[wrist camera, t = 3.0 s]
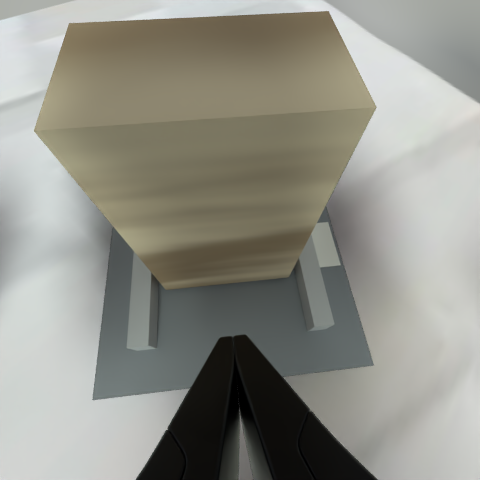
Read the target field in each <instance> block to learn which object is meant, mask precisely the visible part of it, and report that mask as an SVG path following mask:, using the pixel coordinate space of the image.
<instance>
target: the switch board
mask: <svg viewBox="0 0 480 480" xmlns="http://www.w3.org/2000/svg"><path fill="white" fill-rule="evenodd" d="M243 334H246V335H247V336H248V337H249V338H250V339H251V341H252V342H253V343H254V344H255V345H256V347H257V348H258V349H259V350H260V351H261V352H262V354H263V355H264V356H265V357H266V358H267V359H268V361H269V362H270V363H271V364H272V365H273V366H274V368H275V369H276V370H277V371H278V372H279V374H280V375H281V376H282V377H284V376H292V375H300V374H308V373H317V372H325V371H333V370H341V369H349V368H357V367H365V366H373V365H374V364H373V361H372V358H371V354H370V351H369V348H368V344H367V341H366V338H365V335H364V331H363V328H362V325H361V321H360V318H359V315H358V311H357V308H356V305H355V301H354V298H353V295H352V291H351V288H350V285H349V281H348V278H347V275H346V271H345V268H344V265H343V261H342V258H341V255H340V252H339V248H338V245H337V242H336V238H335V235H334V232H333V228H332V225H331V222H330V218H329V215H328V212H327V208H326V206H325V208H324V210H323V212H322V214H321V216H320V218H319V220H318V222H317V224H316V225H315V227H314V229H313V231H312V233H311V235H310V237H309V239H308V241H307V243H306V245H305V247H304V249H303V251H302V253H301V254H300V256H299V258H298V260H297V262H296V264H295V266H294V268H293V270H292V272H291V274H290V276H289V277H287V278H277V279H267V280H258V281H248V282H238V283H228V284H219V285H209V286H199V287H190V288H180V289H170V290H166V289H165V288H164V287H163V286H162V285H161V283H160V282H159V281H158V280H157V279H156V277H155V276H154V275H153V274H152V273H151V271H150V270H149V269H148V268H147V267H146V265H145V264H144V263H143V262H142V261H141V259H140V258H139V257H138V256H137V254H136V253H135V252H134V251H133V250H132V248H131V247H130V246H129V245H128V244H127V242H126V241H125V240H124V239H123V238H122V236H121V235H120V234H119V233H118V232H117V230H116V229H115V228H114V227H113V229H112V238H111V246H110V255H109V263H108V272H107V280H106V289H105V298H104V306H103V315H102V323H101V332H100V340H99V349H98V357H97V366H96V374H95V383H94V391H93V400H98V399H106V398H114V397H122V396H130V395H139V394H147V393H155V392H163V391H171V390H179V389H187V388H191V386H192V384H193V383H194V381H195V379H196V377H197V376H198V374H199V372H200V370H201V369H202V367H203V365H204V363H205V362H206V360H207V358H208V356H209V355H210V353H211V351H212V349H213V348H214V346H215V344H216V342H217V341H218V339H219V338H220V337H225V336H232V337H234V336H235V335H243ZM233 344H234V343H233ZM236 377H237V376H236Z"/></svg>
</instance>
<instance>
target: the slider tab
mask: <svg viewBox="0 0 480 480" xmlns="http://www.w3.org/2000/svg"><path fill="white" fill-rule="evenodd" d="M375 109H376V105H375V103H374V101H373V99H372V97H371V95H370V93H369V91H368V89H367V87H366V85H365V83H364V81H363V79H362V77H361V75H360V73H359V71H358V69H357V67H356V65H355V63H354V61H353V59H352V57H351V55H350V53H349V51H348V49H347V47H346V45H345V43H344V41H343V39H342V37H341V35H340V33H339V31H338V29H337V27H336V25H335V23H334V21H333V19H332V17H331V15H330V13H329V11H323V12H302V13H280V14H259V15H238V16H217V17H195V18H174V19H153V20H131V21H110V22H89V23H69V25H68V28H67V32H66V35H65V38H64V41H63V44H62V47H61V50H60V53H59V56H58V59H57V62H56V65H55V68H54V71H53V74H52V77H51V80H50V83H49V86H48V89H47V92H46V95H45V98H44V101H43V105H42V108H41V111H40V114H39V117H38V120H37V123H36V126H35V129H34V132H35V133H36V134H37V135H38V136H39V138H40V139H41V140H42V141H43V142H44V144H45V145H46V146H47V147H48V148H49V150H50V151H51V152H52V153H53V154H54V156H55V157H56V158H57V159H58V160H59V162H60V163H61V164H62V165H63V166H64V168H65V169H66V170H67V171H68V173H69V174H70V175H71V176H72V177H73V179H74V180H75V181H76V182H77V183H78V185H79V186H80V187H81V188H82V189H83V191H84V192H85V193H86V194H87V195H88V197H89V198H90V199H91V200H92V201H93V203H94V204H95V205H96V206H97V207H98V209H99V210H100V211H101V212H102V214H103V215H104V216H105V217H106V218H107V220H108V221H109V222H110V223H111V224H112V226H113V227H114V228H115V229H116V230H117V232H118V233H119V234H120V235H121V236H122V238H123V239H124V240H125V241H126V242H127V244H128V245H129V246H130V247H131V248H132V250H133V251H134V252H135V253H136V254H137V256H138V257H139V258H140V259H141V261H142V262H143V263H144V264H145V265H146V267H147V268H148V269H149V270H150V271H151V273H152V274H153V275H154V276H155V277H156V279H157V280H158V281H159V282H160V283H161V285H162V286H163V287H164V288H165V289H166V290H170V289H180V288H190V287H199V286H209V285H219V284H228V283H238V282H248V281H258V280H267V279H277V278H287V277H289V276H290V274H291V272H292V270H293V268H294V266H295V264H296V262H297V260H298V258H299V256H300V254H301V253H302V251H303V249H304V247H305V245H306V243H307V241H308V239H309V237H310V235H311V233H312V231H313V229H314V227H315V225H316V224H317V222H318V220H319V218H320V216H321V214H322V212H323V210H324V208H325V206H326V204H327V202H328V200H329V198H330V196H331V195H332V193H333V191H334V189H335V187H336V185H337V183H338V181H339V179H340V177H341V175H342V173H343V171H344V169H345V167H346V166H347V164H348V162H349V160H350V158H351V156H352V154H353V152H354V150H355V148H356V146H357V144H358V142H359V140H360V138H361V136H362V135H363V133H364V131H365V129H366V127H367V125H368V123H369V121H370V119H371V117H372V115H373V113H374V111H375Z"/></svg>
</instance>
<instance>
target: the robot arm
mask: <svg viewBox="0 0 480 480" xmlns="http://www.w3.org/2000/svg"><path fill="white" fill-rule="evenodd" d="M233 343H234V344H233ZM236 376H237V377H236ZM237 387H238V388H237ZM238 398H239V399H238ZM239 408H240V412H239ZM240 416H241V421H242V426H243V431H244V436H245V441H246V446H247V451H248V455H249V460H250V465H251V470H252V475H253V479H254V480H378V479H377V478H375V477H374V476H373V475H372V474H371V473H370V472H369V471H368V470H367V469H366V468H365V467H364V466H363V465H362V464H361V463H360V462H359V461H358V460H357V459H356V458H355V457H354V456H353V455H352V454H351V453H350V452H349V451H348V450H347V449H346V448H345V447H344V446H343V445H342V444H341V443H340V442H339V441H338V440H337V439H336V438H335V437H334V436H333V435H332V434H331V433H330V432H329V430H328V429H327V428H326V427H325V426H324V425H323V424H322V423H321V422H320V420H319V419H318V418H317V417H316V416H315V414H314V413H313V412H312V411H310V409H309V408H308V406H307V405H306V404H305V403H304V402H303V401H302V399H301V398H300V397H299V396H298V395H297V393H296V392H295V391H294V390H293V389H292V388H291V386H290V385H289V384H288V383H287V382H286V381H285V379H284V378H283V377H282V376H281V375H280V374H279V372H278V371H277V370H276V369H275V368H274V366H273V365H272V364H271V363H270V362H269V361H268V359H267V358H266V357H265V356H264V355H263V354H262V352H261V351H260V350H259V349H258V348H257V347H256V345H255V344H254V343H253V342H252V341H251V339H250V338H249V337H248V336H247V335H246V334H243V335H235V336H234V337H232V336H225V337H220V338H219V339H218V341H217V342H216V344H215V346H214V348H213V349H212V351H211V353H210V355H209V356H208V358H207V360H206V362H205V363H204V365H203V367H202V369H201V370H200V372H199V374H198V376H197V377H196V379H195V381H194V383H193V384H192V386H191V388H190V390H189V391H188V393H187V395H186V396H185V398H184V400H183V402H182V403H181V405H180V407H179V409H178V410H177V412H176V414H175V416H174V417H173V419H172V421H171V423H170V424H169V426H168V430H166V431H165V433H164V435H163V436H162V438H161V440H160V442H159V443H158V445H157V447H156V448H155V450H154V452H153V453H152V455H151V457H150V458H149V460H148V462H147V463H146V465H145V467H144V468H143V470H142V471H141V473H140V474H139V475H138V477H137V478H136V480H238V473H239V432H240Z"/></svg>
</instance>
